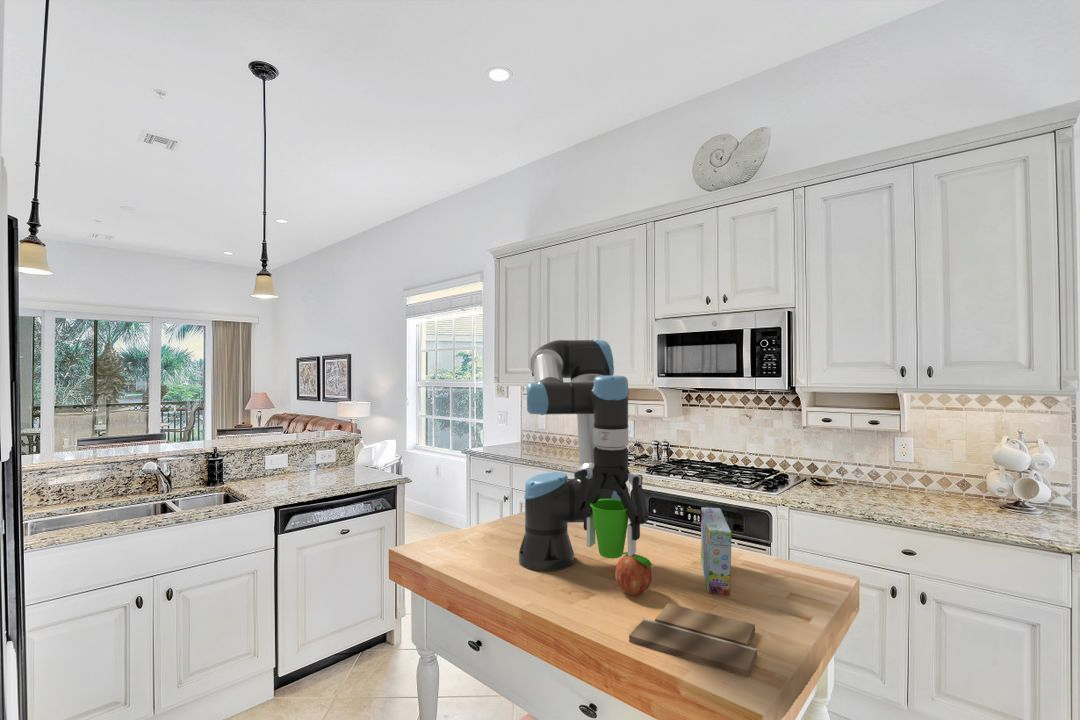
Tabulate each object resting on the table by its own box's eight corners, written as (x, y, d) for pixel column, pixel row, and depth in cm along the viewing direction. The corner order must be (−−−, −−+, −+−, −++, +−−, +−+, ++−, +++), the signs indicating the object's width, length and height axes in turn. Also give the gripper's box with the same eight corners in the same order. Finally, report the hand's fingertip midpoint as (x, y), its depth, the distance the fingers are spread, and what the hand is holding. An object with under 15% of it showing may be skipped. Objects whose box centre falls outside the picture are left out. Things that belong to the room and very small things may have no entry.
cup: (586, 547, 121) (586, 498, 121) (626, 545, 122) (626, 497, 121) (594, 563, 112) (594, 511, 112) (636, 561, 113) (636, 509, 112)
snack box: (733, 596, 124) (732, 531, 124) (707, 594, 125) (707, 530, 125) (721, 562, 145) (720, 506, 145) (699, 561, 146) (699, 505, 146)
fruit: (631, 604, 120) (630, 559, 120) (606, 588, 129) (606, 546, 129) (661, 596, 124) (660, 553, 124) (635, 581, 133) (635, 541, 133)
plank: (654, 625, 110) (654, 619, 110) (668, 608, 117) (668, 603, 117) (746, 650, 101) (746, 644, 101) (755, 630, 108) (754, 624, 108)
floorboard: (629, 641, 104) (629, 634, 104) (644, 624, 111) (644, 618, 111) (747, 677, 92) (747, 669, 92) (756, 655, 99) (756, 648, 99)
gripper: (559, 444, 119) (559, 545, 120) (652, 454, 107) (652, 566, 108) (575, 439, 125) (575, 535, 126) (665, 448, 114) (665, 553, 114)
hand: (611, 549), depth 117 cm, fingers closed on cup, 9 cm apart
